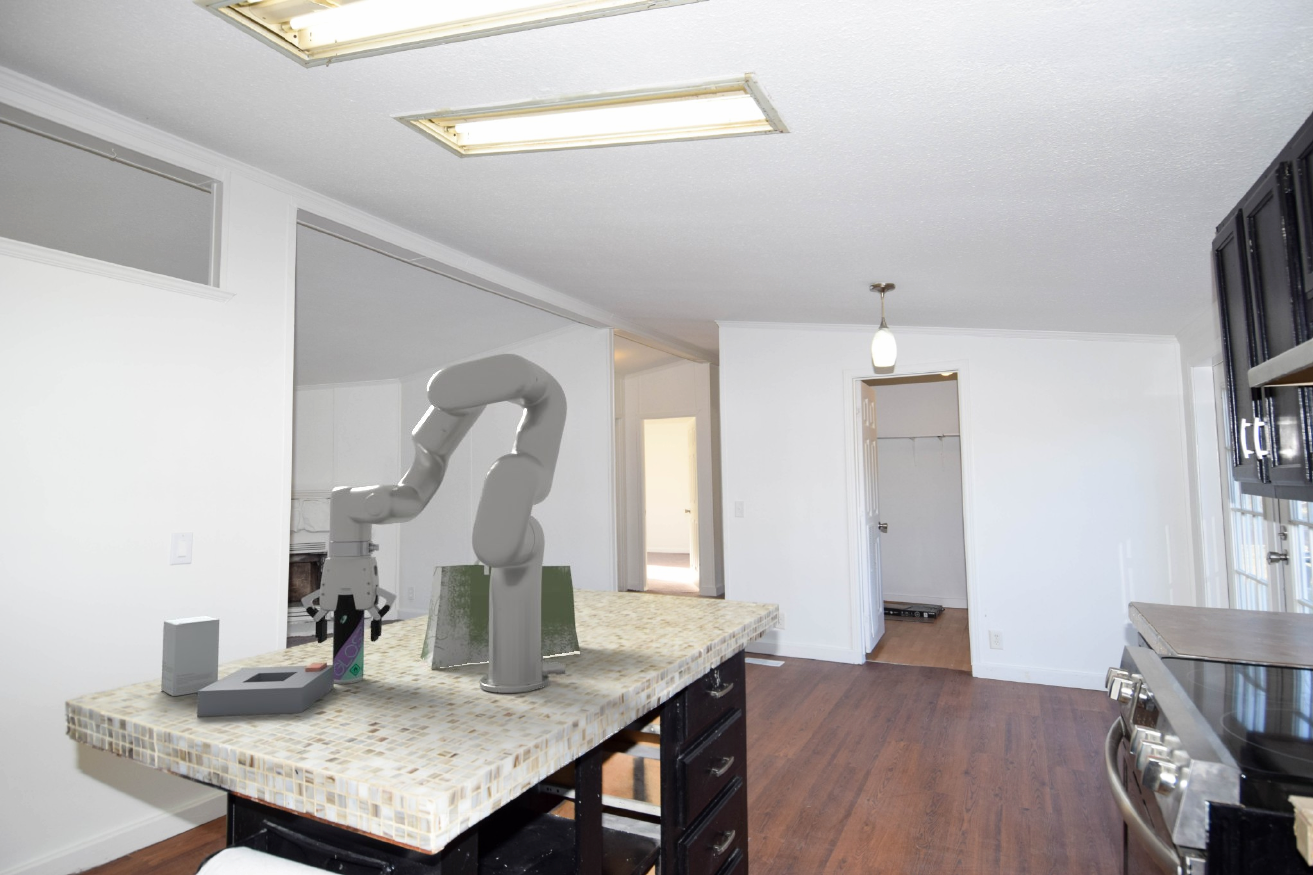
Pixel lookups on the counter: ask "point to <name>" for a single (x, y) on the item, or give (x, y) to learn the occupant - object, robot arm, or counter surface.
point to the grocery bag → (465, 614)
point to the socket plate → (266, 690)
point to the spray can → (348, 639)
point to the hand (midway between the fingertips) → (348, 640)
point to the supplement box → (189, 654)
